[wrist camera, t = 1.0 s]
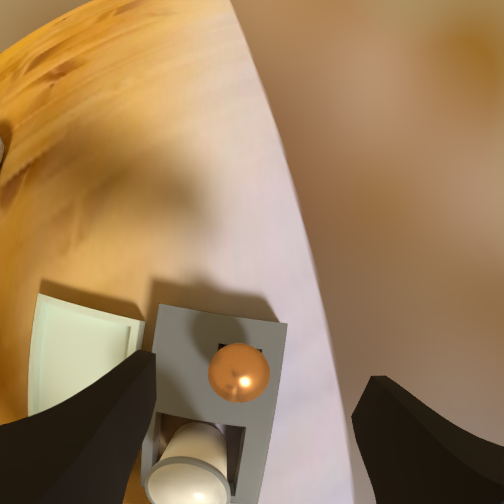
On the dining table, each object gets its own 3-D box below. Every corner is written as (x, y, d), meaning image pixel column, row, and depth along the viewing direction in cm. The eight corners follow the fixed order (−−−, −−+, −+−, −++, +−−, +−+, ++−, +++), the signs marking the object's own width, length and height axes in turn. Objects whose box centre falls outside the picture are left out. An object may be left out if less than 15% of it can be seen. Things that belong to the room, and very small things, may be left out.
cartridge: (225, 473, 18) (225, 527, 11) (167, 463, 18) (143, 512, 11) (232, 424, 20) (235, 467, 12) (172, 414, 20) (145, 451, 12)
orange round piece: (259, 394, 19) (265, 405, 15) (208, 387, 19) (204, 398, 15) (266, 345, 20) (274, 348, 16) (215, 338, 20) (212, 339, 16)
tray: (131, 473, 17) (125, 480, 16) (38, 435, 17) (29, 439, 16) (145, 321, 21) (139, 320, 20) (47, 295, 21) (38, 293, 19)
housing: (254, 490, 18) (257, 505, 16) (147, 473, 18) (140, 486, 15) (281, 324, 22) (287, 323, 20) (166, 306, 22) (159, 303, 19)
